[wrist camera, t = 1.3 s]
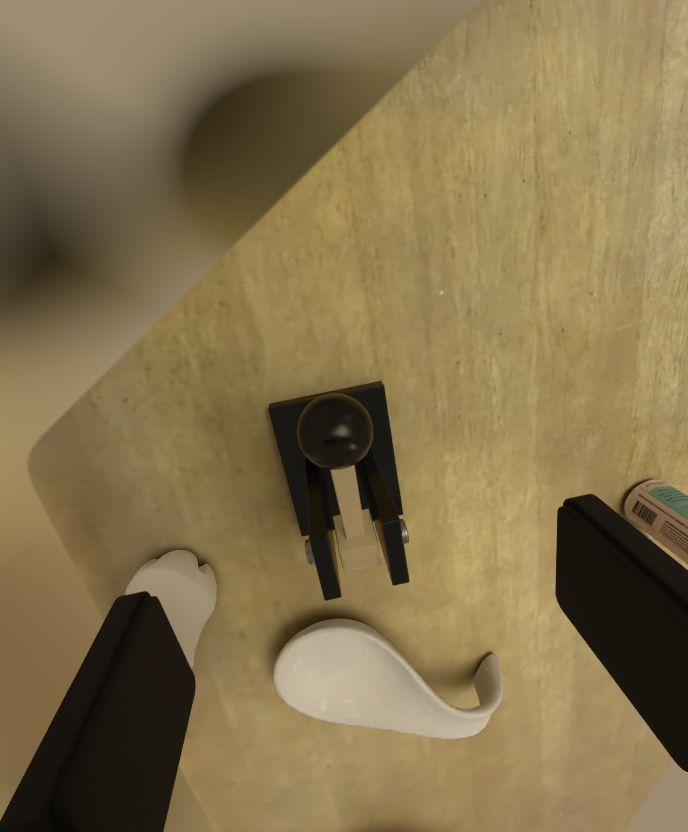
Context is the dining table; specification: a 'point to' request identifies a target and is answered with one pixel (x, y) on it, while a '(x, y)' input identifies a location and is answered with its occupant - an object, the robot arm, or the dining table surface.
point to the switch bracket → (318, 492)
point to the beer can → (661, 514)
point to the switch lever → (342, 470)
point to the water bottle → (180, 594)
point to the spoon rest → (374, 684)
